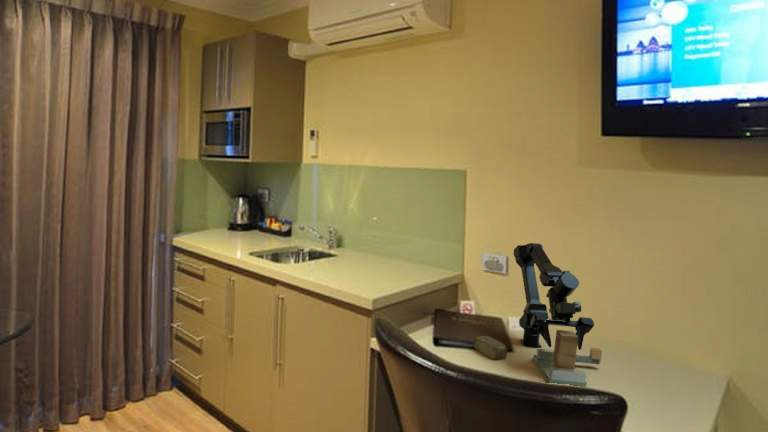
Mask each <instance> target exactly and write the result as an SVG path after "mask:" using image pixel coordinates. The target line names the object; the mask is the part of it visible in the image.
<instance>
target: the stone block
mask: <svg viewBox="0 0 768 432" xmlns="http://www.w3.org/2000/svg"><path fill="white" fill-rule="evenodd" d="M473 348H474V349H475V350H477V351H478V352H479V353H481V354H482V355H485V356H487V357H488V358H490V359H492V360H496V361H497V360H503V359H504V360H505V359H506V358H507V355H508V348H507V346H506V344H504V343H502V342H501V341H499V340H497V339H494V337H493V338H492V337H490V336H489V335H482V336H476V337H475V341H474V345H473Z"/></svg>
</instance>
